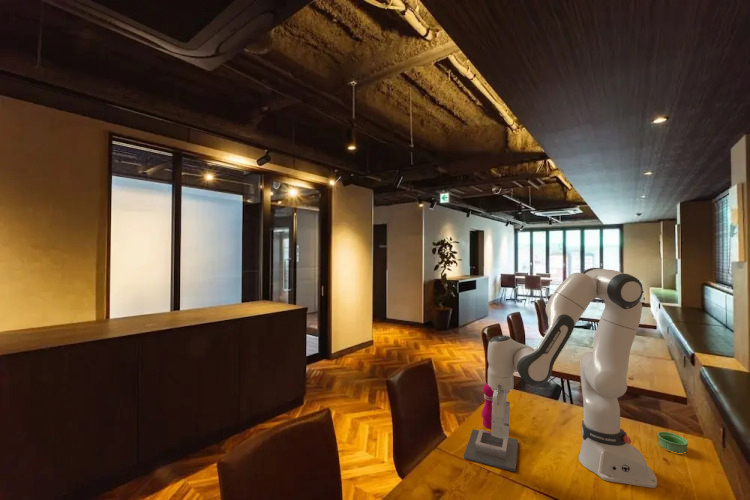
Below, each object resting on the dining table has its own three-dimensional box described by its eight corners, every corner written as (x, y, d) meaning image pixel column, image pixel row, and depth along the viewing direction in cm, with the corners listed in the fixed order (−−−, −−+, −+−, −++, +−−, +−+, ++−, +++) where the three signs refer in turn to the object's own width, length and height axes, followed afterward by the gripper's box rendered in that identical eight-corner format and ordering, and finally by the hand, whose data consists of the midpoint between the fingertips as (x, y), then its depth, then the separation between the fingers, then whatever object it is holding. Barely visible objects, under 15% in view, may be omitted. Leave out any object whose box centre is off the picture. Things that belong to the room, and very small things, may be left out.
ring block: (518, 442, 134) (518, 432, 134) (515, 472, 116) (515, 460, 116) (472, 431, 142) (472, 422, 142) (463, 458, 124) (463, 447, 124)
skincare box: (491, 436, 119) (491, 403, 119) (492, 429, 123) (492, 398, 123) (509, 440, 117) (509, 407, 116) (509, 433, 121) (510, 401, 120)
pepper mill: (496, 421, 150) (496, 377, 150) (500, 429, 143) (500, 384, 143) (480, 420, 151) (479, 377, 151) (483, 429, 144) (483, 383, 144)
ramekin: (695, 455, 125) (695, 444, 125) (671, 456, 125) (671, 444, 125) (673, 442, 134) (673, 431, 134) (651, 442, 134) (651, 431, 134)
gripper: (507, 393, 109) (508, 435, 109) (511, 372, 127) (511, 408, 127) (487, 390, 112) (488, 431, 112) (494, 370, 130) (494, 405, 130)
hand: (500, 418), depth 120 cm, fingers closed on skincare box, 4 cm apart
